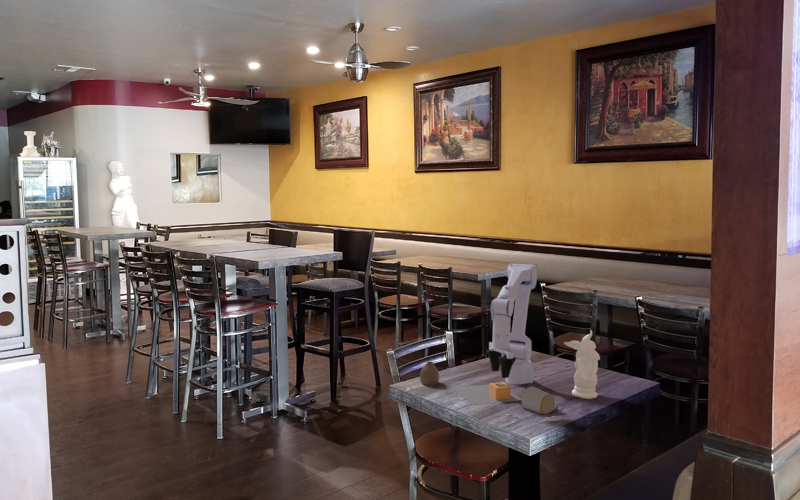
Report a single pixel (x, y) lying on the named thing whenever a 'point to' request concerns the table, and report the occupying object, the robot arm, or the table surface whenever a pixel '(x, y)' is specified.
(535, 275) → the robot arm
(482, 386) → the board
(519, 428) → the table surface
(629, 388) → the table surface
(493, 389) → the orange cubby crate
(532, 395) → the ceramic mug
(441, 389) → the table surface
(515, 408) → the table surface
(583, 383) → the cherub figurine
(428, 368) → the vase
